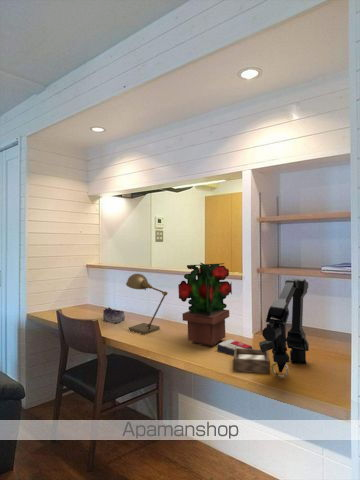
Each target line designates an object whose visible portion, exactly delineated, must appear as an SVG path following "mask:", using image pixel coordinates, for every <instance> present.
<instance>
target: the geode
mask: <svg viewBox="0 0 360 480" xmlns="http://www.w3.org/2000/svg"><path fill="white" fill-rule="evenodd" d="M102 313H103V314H102V319H103V321H104V322H109V323H110V322H111V323H113V324H120V323H121V322H122V321H125V320H126V315H125V312H124V310H118V309H112V308H111V307H108V308H106V307H105V308H104V309H103V312H102Z"/></svg>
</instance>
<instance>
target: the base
mask: <svg viewBox="0 0 360 480" xmlns="http://www.w3.org/2000/svg"><path fill="white" fill-rule="evenodd" d="M270 359H271V358H270V351H269V350H268V351H265V352H262V351H261V349H260V348H252V349H244V348H235V351H234V356H233V360H232V361H233V371H234V370H236V371H235V372H243V371H251V372H250V373H260V372H261V373H262V374H263V373H265V374H271V360H270Z"/></svg>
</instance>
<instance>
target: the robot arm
mask: <svg viewBox="0 0 360 480" xmlns="http://www.w3.org/2000/svg"><path fill="white" fill-rule="evenodd" d="M308 289H309V282H308V281H307V280H306V278H305V279H304V278H288V279H286V280H285V281H284V286H283V287H282V290H281V292H280V294H279V297H278V299H277V300H275V301H273V302H272V303H271V305H270V306H269V308H268V312H267V315H266V319H265V323H266V327H264V328H263V329H262V332H261V334H262V337H263V339H265V340H262V341H259V343H258V346H259V349H261V351H262V352H265V351H268V352H269V351H271V353H272V358H273V359H272V360H273V362H277V364H276V365H277V369H278V372H279V373H283V370H284V368H285V367H286V366H285V364H289V363H290V362H291V363H292V364H299V365H305V364H308V363H307V360H306V358H307V357H306V355H307V353H306V352H309V349H310V344H309V341H308V340H307V338H306V337H307V336H306V335H307V334H306V333H305V331H304V329H303V315H304V313H303V312H304V311H303V309H304V297H305V296H306V295H307V293H308ZM291 300H292V309H291V310H292V311H291V314H292V315H291V328H290V329H289V331H287V323H288V320H289V319H288V318H289V316H290V310H289V304H290V302H291ZM288 349H289V353H288Z"/></svg>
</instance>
